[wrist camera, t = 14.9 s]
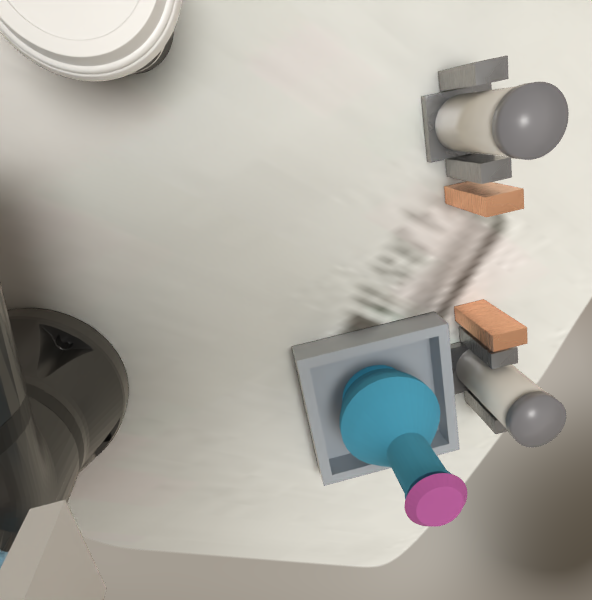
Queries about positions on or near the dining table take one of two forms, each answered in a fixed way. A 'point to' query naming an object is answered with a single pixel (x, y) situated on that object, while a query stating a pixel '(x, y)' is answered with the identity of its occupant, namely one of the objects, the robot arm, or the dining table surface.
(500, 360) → the clip rack
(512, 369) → the canister
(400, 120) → the dining table surface
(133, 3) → the coffee cup
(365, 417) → the perfume bottle
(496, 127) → the canister
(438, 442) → the tray
